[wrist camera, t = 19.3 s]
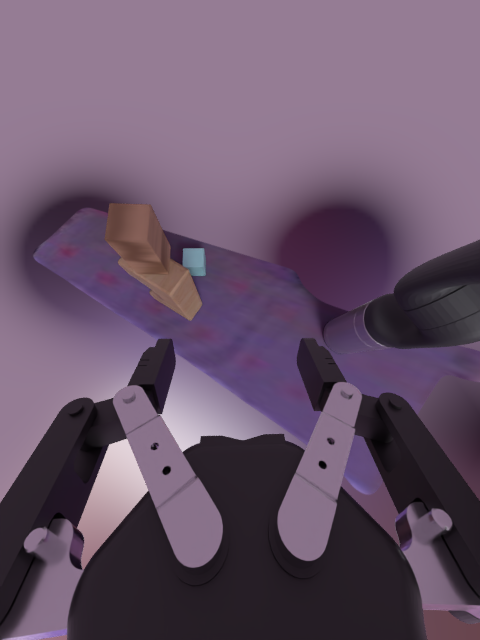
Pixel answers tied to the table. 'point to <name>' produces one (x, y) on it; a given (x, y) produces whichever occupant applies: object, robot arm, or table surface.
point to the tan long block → (138, 238)
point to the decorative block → (171, 288)
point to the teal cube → (195, 261)
